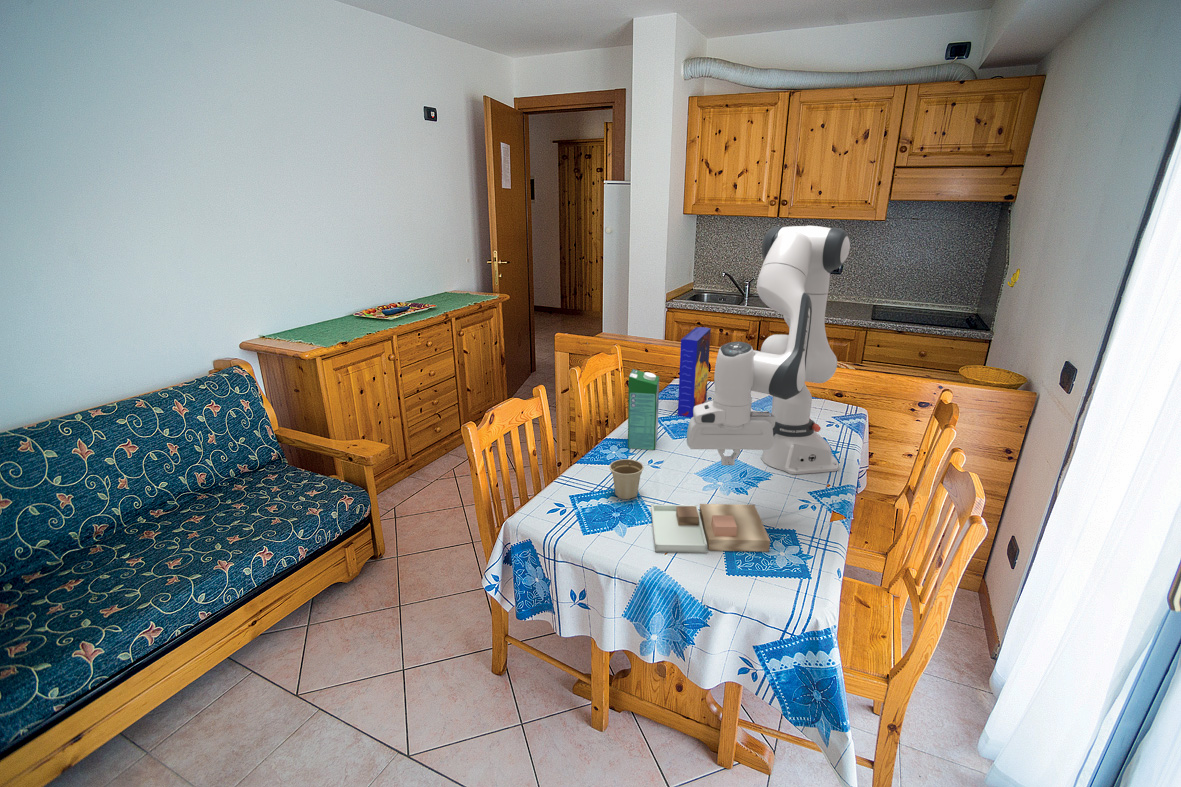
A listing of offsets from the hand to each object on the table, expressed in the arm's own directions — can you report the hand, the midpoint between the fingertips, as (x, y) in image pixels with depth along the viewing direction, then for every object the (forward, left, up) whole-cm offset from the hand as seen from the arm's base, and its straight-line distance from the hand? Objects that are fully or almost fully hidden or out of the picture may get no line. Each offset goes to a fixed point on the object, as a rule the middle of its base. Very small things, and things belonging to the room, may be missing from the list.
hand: (727, 464), depth 136 cm
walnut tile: (+9, 0, -16) cm, 18 cm away
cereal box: (-3, -83, -17) cm, 85 cm away
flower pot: (+24, -14, -17) cm, 33 cm away
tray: (+12, +4, -17) cm, 21 cm away
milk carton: (+18, -48, -17) cm, 55 cm away
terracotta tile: (+1, +8, -14) cm, 16 cm away
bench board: (-2, +4, -17) cm, 17 cm away
